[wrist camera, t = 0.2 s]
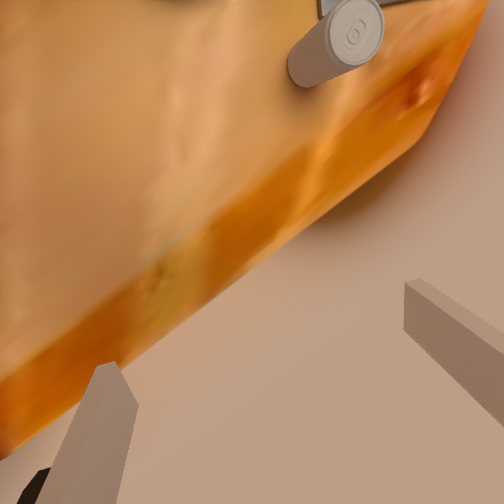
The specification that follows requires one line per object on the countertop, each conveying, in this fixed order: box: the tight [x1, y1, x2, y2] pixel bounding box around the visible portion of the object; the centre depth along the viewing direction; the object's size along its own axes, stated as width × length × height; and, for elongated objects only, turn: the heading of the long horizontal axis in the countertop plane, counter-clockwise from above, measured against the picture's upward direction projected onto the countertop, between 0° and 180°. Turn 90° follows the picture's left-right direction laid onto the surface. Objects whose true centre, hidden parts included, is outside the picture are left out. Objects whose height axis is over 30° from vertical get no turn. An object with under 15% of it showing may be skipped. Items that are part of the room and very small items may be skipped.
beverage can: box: [288, 0, 385, 88], centre depth 28 cm, size 5×5×12 cm
